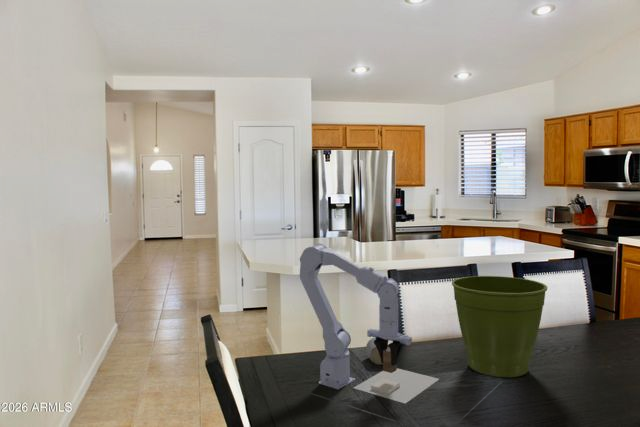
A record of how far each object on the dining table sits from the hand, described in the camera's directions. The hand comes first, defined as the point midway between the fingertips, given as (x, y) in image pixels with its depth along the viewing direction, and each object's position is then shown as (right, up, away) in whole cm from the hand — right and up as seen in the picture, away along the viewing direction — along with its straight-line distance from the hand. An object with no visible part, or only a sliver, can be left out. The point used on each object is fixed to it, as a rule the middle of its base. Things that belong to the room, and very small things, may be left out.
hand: (389, 363), depth 152 cm
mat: (+3, -7, +2) cm, 8 cm away
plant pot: (+38, -6, +15) cm, 42 cm away
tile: (+1, -6, +1) cm, 6 cm away
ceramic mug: (+1, -6, +22) cm, 23 cm away
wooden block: (0, -2, +1) cm, 2 cm away
